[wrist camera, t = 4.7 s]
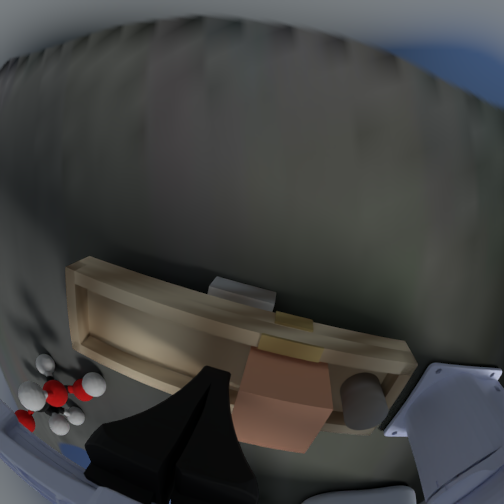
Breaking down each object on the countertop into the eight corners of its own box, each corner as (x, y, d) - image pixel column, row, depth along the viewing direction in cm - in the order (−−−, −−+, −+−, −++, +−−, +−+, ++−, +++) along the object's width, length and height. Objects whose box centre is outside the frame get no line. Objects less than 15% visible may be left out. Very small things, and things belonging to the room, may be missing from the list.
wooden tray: (400, 321, 16) (430, 370, 11) (358, 400, 18) (368, 453, 13) (103, 242, 17) (51, 264, 12) (103, 328, 19) (63, 363, 14)
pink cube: (327, 359, 13) (333, 409, 10) (304, 404, 14) (304, 453, 11) (252, 342, 14) (239, 390, 10) (238, 390, 15) (224, 437, 11)
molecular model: (108, 395, 27) (70, 455, 20) (57, 354, 26) (16, 411, 19) (113, 370, 17) (47, 473, 9) (34, 301, 16) (-36, 390, 9)
